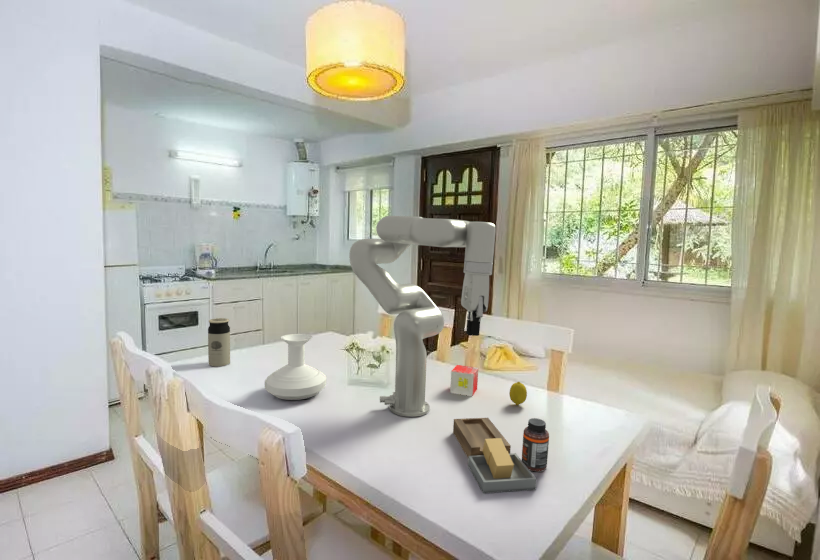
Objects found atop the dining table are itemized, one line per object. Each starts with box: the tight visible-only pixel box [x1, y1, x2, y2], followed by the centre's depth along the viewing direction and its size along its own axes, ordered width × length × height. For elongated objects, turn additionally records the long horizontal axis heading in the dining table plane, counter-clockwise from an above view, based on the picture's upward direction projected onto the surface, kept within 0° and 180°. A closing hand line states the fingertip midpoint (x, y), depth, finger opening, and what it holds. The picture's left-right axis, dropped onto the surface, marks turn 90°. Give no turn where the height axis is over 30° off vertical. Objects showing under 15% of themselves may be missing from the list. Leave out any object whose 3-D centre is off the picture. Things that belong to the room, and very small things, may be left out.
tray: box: [467, 452, 537, 494], centre depth 98 cm, size 12×11×2 cm
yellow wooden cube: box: [488, 451, 514, 479], centre depth 98 cm, size 4×4×4 cm
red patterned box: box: [449, 364, 479, 397], centre depth 151 cm, size 8×8×8 cm
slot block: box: [452, 417, 512, 459], centre depth 112 cm, size 10×16×4 cm, turn 10°
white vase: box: [264, 333, 327, 401], centre depth 143 cm, size 20×20×19 cm
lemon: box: [509, 381, 528, 406], centre depth 140 cm, size 6×6×8 cm
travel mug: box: [207, 317, 231, 368], centre depth 170 cm, size 8×8×18 cm
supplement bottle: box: [521, 417, 550, 473], centre depth 103 cm, size 6×6×11 cm
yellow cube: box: [483, 438, 507, 464], centre depth 101 cm, size 4×4×4 cm
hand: (472, 334), depth 117 cm, fingers closed
